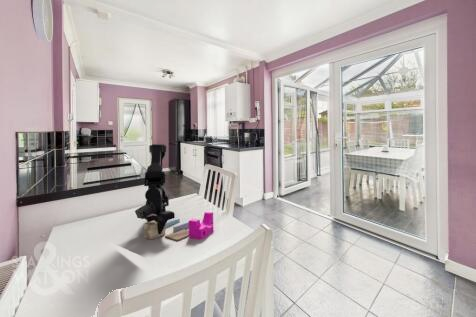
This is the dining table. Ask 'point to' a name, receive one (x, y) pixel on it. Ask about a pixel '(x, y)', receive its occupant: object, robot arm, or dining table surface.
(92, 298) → the dining table surface
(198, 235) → the toy block
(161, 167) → the robot arm
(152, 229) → the block
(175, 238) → the board
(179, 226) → the channel
